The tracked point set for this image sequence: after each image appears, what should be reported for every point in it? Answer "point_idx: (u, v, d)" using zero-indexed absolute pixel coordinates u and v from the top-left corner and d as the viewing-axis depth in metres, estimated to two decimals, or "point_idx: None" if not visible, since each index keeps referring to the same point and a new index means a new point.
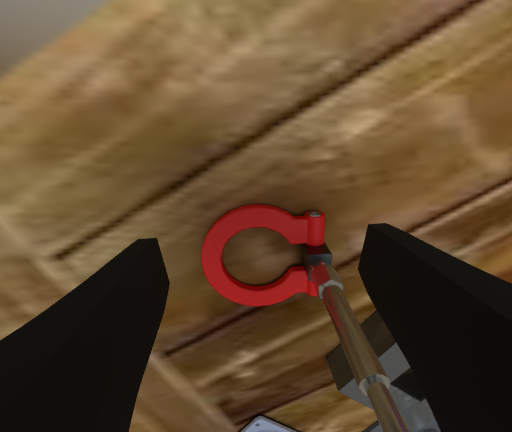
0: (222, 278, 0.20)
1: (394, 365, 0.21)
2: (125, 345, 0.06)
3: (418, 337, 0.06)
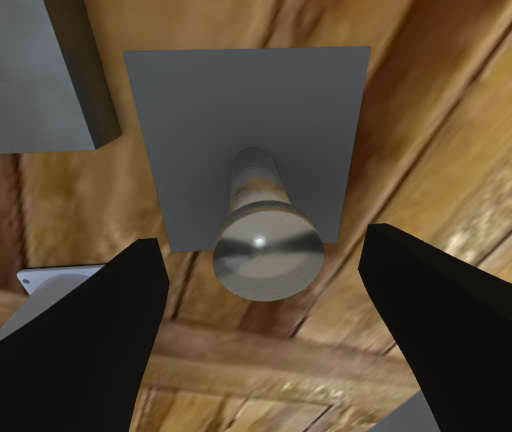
0: None
1: None
2: (125, 345, 0.06)
3: (418, 337, 0.06)
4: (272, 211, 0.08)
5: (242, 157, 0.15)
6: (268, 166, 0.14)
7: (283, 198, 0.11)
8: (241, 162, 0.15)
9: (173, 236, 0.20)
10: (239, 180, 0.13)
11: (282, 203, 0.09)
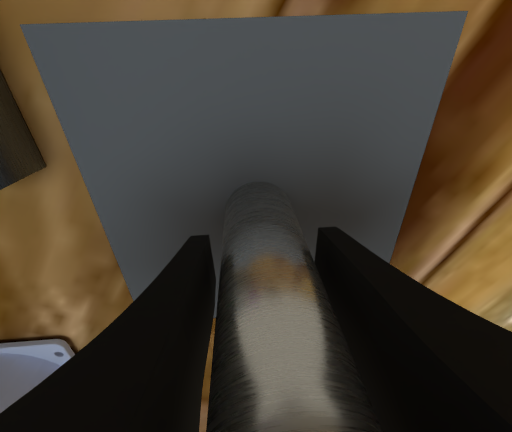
0: None
1: None
2: (195, 339, 0.06)
3: (354, 343, 0.06)
4: None
5: (241, 204, 0.09)
6: (288, 230, 0.08)
7: (337, 351, 0.04)
8: (239, 216, 0.09)
9: None
10: (235, 269, 0.06)
11: None
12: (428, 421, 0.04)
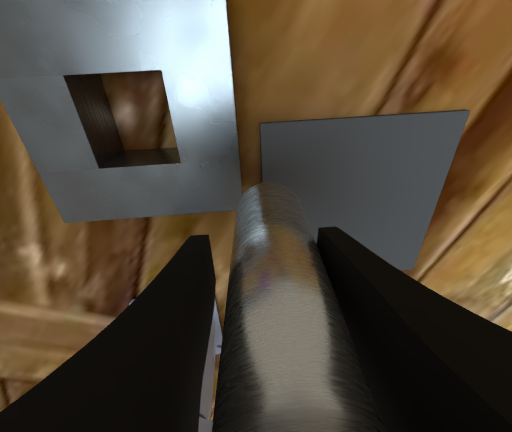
0: None
1: (58, 137, 0.13)
2: (195, 339, 0.06)
3: (354, 342, 0.06)
4: None
5: (252, 204, 0.09)
6: (296, 229, 0.08)
7: (341, 348, 0.05)
8: (249, 216, 0.09)
9: None
10: (243, 267, 0.07)
11: None
12: (429, 421, 0.04)
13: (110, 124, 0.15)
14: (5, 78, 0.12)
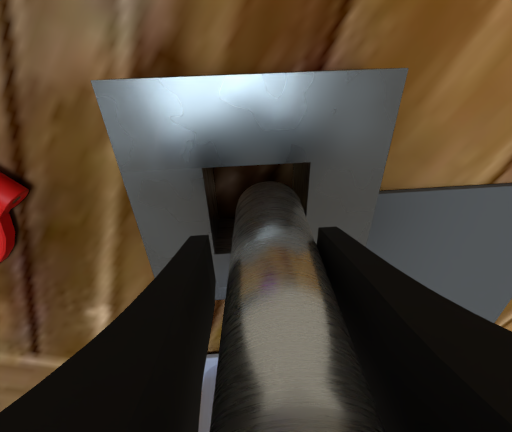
0: None
1: (180, 226, 0.11)
2: (194, 339, 0.06)
3: (354, 343, 0.06)
4: None
5: (251, 203, 0.09)
6: (295, 228, 0.08)
7: (339, 347, 0.05)
8: (248, 215, 0.09)
9: None
10: (242, 266, 0.07)
11: None
12: (429, 421, 0.04)
13: (214, 196, 0.14)
14: (135, 169, 0.10)
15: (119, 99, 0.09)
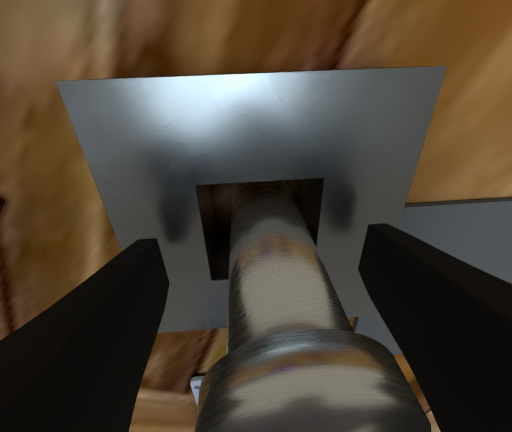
0: None
1: (170, 250, 0.10)
2: (126, 345, 0.06)
3: (418, 337, 0.06)
4: (322, 379, 0.03)
5: (246, 187, 0.11)
6: (285, 205, 0.09)
7: (322, 283, 0.06)
8: (244, 197, 0.10)
9: None
10: (242, 235, 0.08)
11: (337, 337, 0.04)
12: None
13: (211, 211, 0.12)
14: (116, 187, 0.09)
15: (92, 104, 0.07)
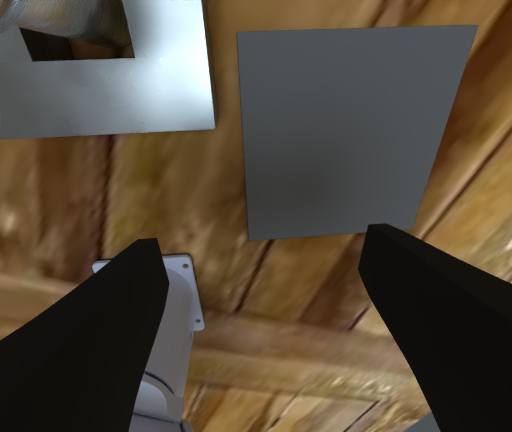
0: None
1: None
2: (125, 345, 0.06)
3: (419, 337, 0.06)
4: None
5: None
6: None
7: None
8: None
9: (253, 224, 0.20)
10: None
11: None
12: None
13: None
14: None
15: None
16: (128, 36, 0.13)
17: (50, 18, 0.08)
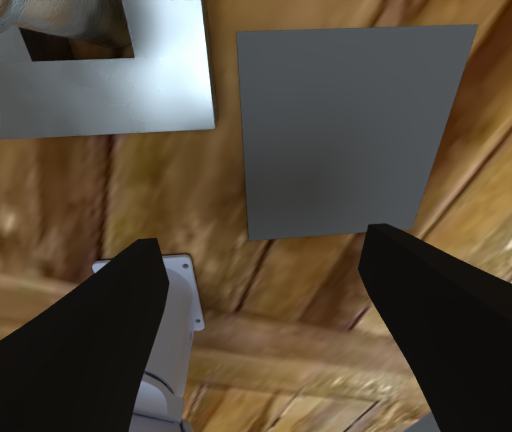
0: None
1: None
2: (125, 345, 0.06)
3: (418, 337, 0.06)
4: None
5: None
6: None
7: None
8: None
9: (253, 223, 0.20)
10: None
11: None
12: None
13: None
14: None
15: None
16: (128, 36, 0.13)
17: (50, 18, 0.08)
